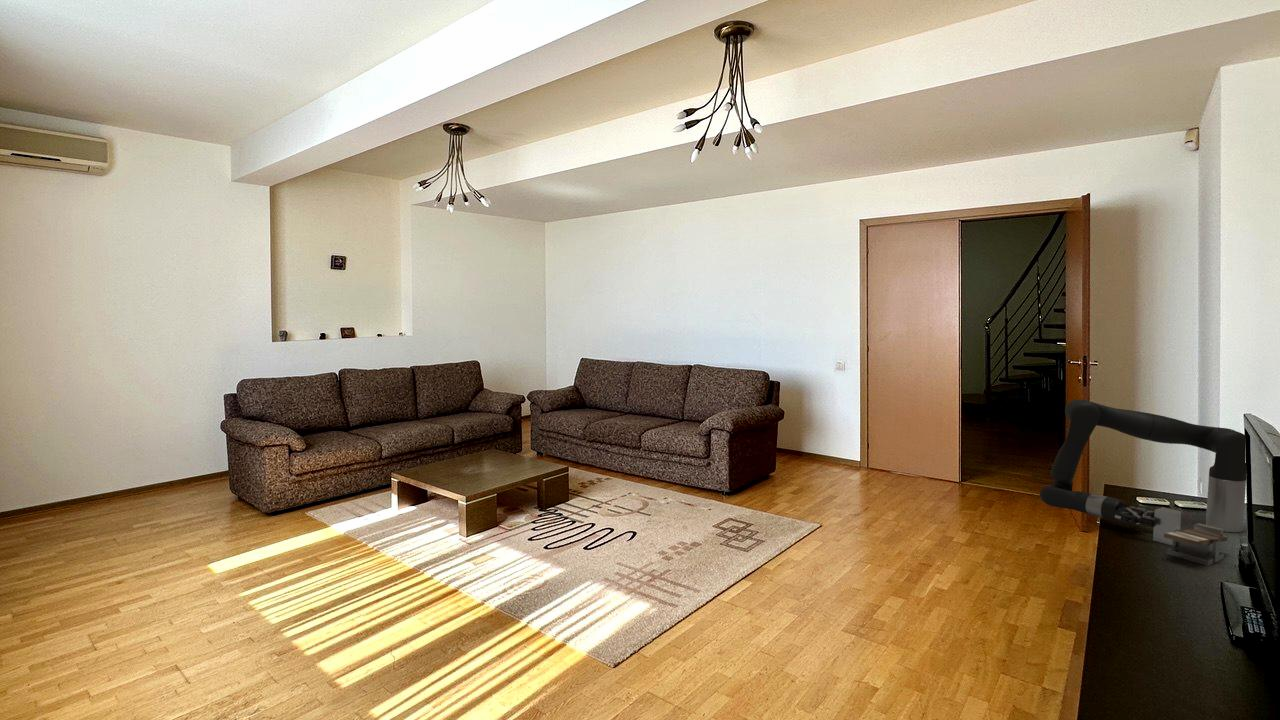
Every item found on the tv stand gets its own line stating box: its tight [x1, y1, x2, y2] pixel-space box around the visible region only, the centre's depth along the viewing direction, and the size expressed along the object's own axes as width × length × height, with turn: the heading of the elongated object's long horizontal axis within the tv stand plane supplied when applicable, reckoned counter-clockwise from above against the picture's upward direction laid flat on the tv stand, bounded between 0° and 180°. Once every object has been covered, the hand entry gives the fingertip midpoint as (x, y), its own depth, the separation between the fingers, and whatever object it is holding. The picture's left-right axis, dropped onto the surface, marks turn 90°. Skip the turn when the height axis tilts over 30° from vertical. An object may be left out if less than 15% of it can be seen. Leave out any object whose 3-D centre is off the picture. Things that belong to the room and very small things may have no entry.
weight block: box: [1152, 506, 1182, 546], centre depth 204 cm, size 5×5×10 cm
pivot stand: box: [1166, 529, 1225, 567], centre depth 192 cm, size 10×10×6 cm
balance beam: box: [1164, 522, 1228, 546], centre depth 191 cm, size 20×8×3 cm, turn 119°
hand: (1161, 521), depth 205 cm, fingers open, 8 cm apart
